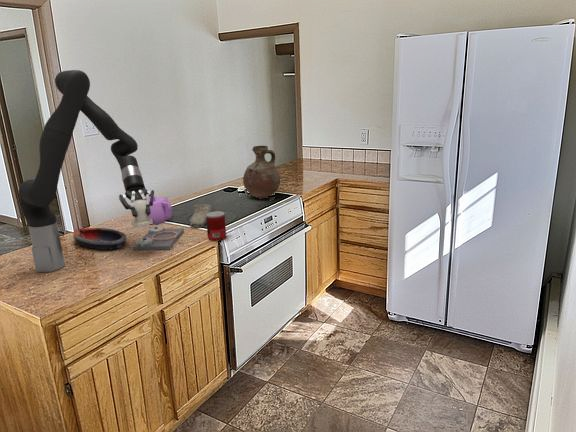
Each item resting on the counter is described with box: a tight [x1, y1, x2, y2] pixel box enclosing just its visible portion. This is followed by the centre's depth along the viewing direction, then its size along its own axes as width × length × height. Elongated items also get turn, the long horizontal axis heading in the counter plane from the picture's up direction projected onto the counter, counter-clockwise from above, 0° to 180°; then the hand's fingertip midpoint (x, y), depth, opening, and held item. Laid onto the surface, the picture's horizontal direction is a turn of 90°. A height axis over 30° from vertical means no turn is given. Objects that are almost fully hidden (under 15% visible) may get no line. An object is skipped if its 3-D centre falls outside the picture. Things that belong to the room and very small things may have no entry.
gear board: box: [132, 225, 185, 251], centre depth 188 cm, size 23×15×4 cm, turn 178°
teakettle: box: [146, 195, 173, 225], centre depth 217 cm, size 17×17×12 cm
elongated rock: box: [189, 203, 213, 229], centre depth 220 cm, size 35×5×10 cm
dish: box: [73, 227, 127, 250], centre depth 187 cm, size 16×31×5 cm, turn 55°
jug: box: [242, 145, 281, 199], centre depth 253 cm, size 22×22×30 cm
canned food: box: [206, 210, 227, 241], centre depth 188 cm, size 8×8×11 cm
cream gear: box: [131, 200, 153, 228], centre depth 170 cm, size 8×8×10 cm
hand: (142, 215), depth 168 cm, fingers closed on cream gear, 4 cm apart
